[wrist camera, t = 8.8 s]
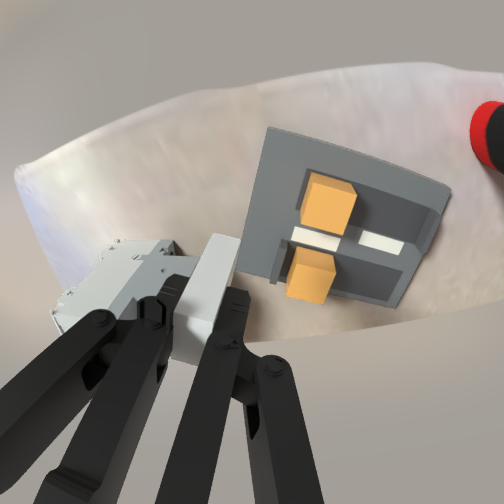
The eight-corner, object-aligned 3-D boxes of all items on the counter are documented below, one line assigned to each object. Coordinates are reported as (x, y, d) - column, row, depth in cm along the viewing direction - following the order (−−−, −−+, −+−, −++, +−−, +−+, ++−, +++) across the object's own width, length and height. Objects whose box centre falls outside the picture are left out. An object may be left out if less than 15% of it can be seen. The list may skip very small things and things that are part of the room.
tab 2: (333, 255, 33) (336, 273, 30) (320, 285, 35) (322, 304, 32) (297, 246, 33) (296, 263, 30) (286, 276, 35) (285, 295, 32)
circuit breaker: (228, 294, 40) (198, 390, 27) (128, 287, 41) (75, 365, 28) (223, 240, 36) (183, 331, 23) (115, 239, 38) (47, 311, 25)
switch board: (446, 185, 29) (459, 195, 26) (391, 301, 37) (398, 319, 34) (268, 126, 29) (265, 130, 26) (237, 263, 37) (231, 279, 34)
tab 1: (350, 183, 29) (357, 195, 26) (338, 220, 31) (342, 235, 28) (311, 172, 29) (313, 182, 26) (300, 209, 31) (300, 223, 28)
